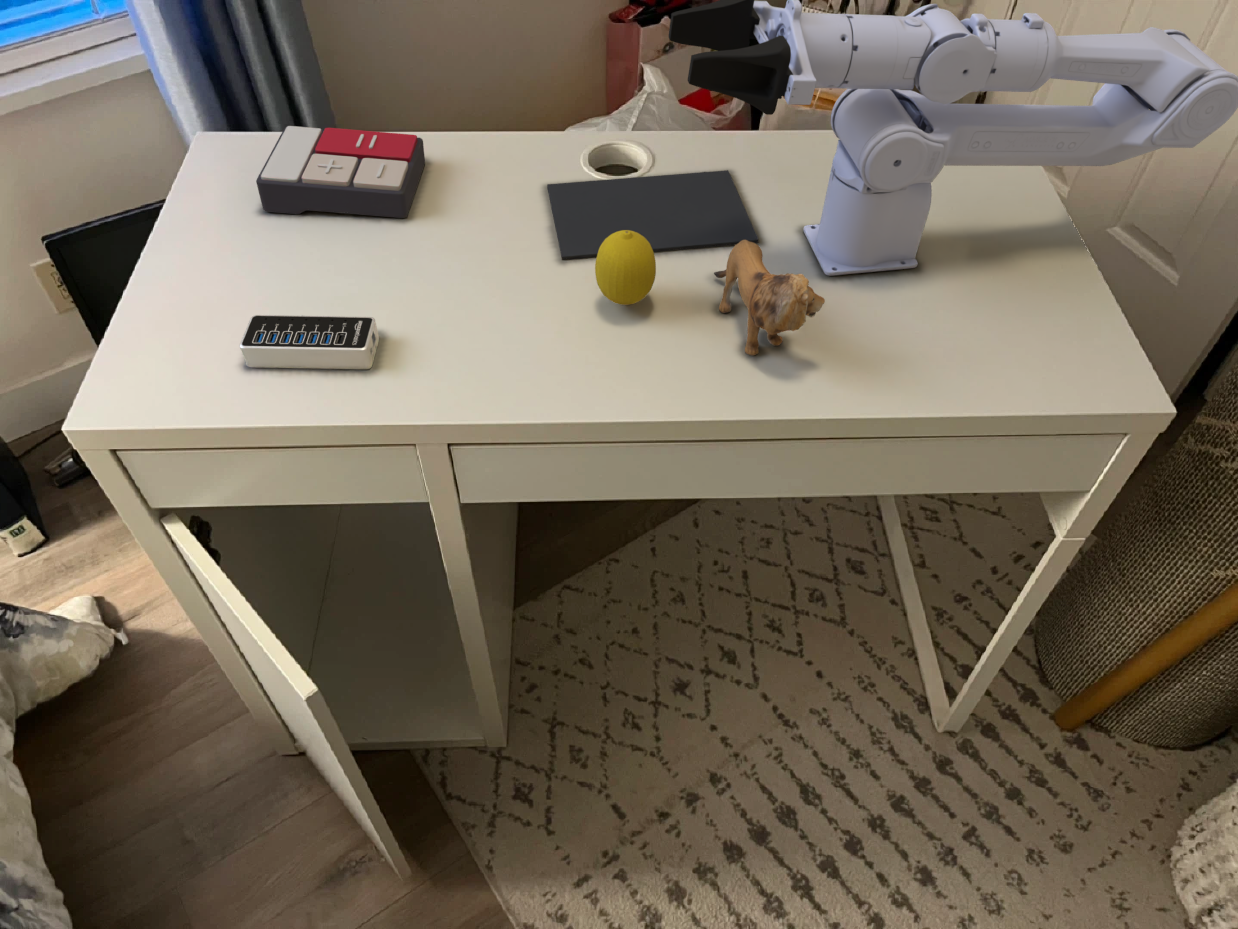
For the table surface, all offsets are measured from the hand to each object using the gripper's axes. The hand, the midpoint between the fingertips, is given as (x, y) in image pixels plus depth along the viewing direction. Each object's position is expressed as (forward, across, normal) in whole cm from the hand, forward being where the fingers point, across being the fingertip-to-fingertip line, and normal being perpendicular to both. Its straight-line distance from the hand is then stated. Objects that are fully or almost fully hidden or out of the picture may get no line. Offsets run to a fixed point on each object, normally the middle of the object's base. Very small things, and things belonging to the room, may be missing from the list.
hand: (680, 47), depth 76 cm
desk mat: (-2, -9, +22) cm, 23 cm away
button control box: (+29, -19, +24) cm, 42 cm away
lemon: (+3, +5, +22) cm, 23 cm away
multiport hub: (+31, +8, +25) cm, 41 cm away
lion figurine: (-8, +10, +21) cm, 25 cm away
